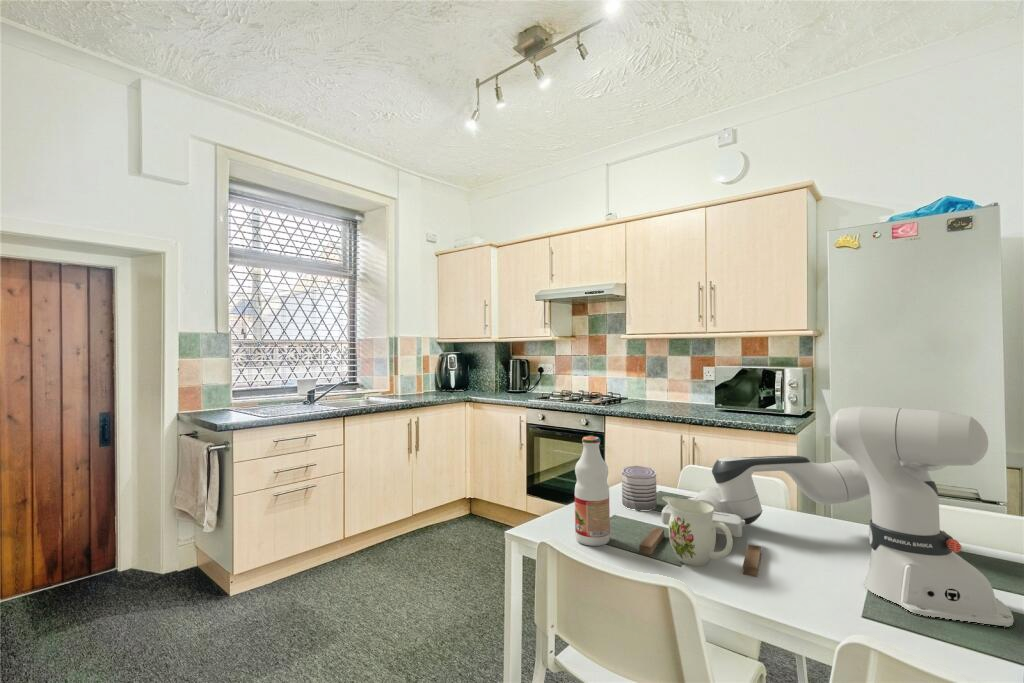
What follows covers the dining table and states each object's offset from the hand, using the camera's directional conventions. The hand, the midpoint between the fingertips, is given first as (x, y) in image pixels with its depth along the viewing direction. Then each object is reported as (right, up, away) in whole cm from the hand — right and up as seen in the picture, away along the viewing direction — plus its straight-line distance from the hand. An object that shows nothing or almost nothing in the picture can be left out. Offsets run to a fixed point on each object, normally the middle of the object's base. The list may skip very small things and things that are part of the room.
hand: (696, 529), depth 122 cm
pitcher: (-2, -6, -6) cm, 8 cm away
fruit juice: (-25, -6, +8) cm, 27 cm away
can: (-5, -7, +37) cm, 38 cm away
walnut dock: (+1, -6, -1) cm, 6 cm away
